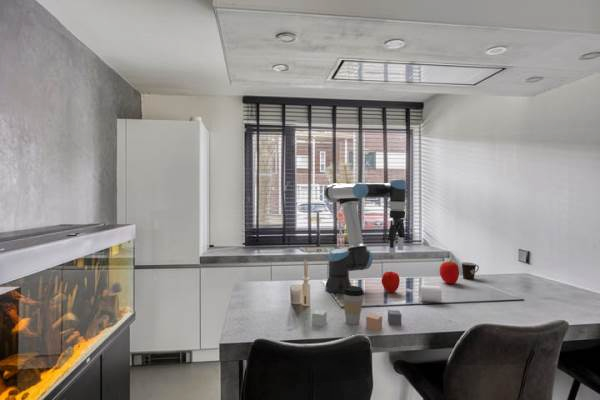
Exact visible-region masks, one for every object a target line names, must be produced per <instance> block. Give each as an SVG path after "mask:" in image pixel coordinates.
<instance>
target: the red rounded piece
mask: <svg viewBox="0 0 600 400" xmlns="http://www.w3.org/2000/svg"><path fill="white" fill-rule="evenodd" d="M400 280H401V279H400V276H399V274H398V273H397V272H394V271H385V272H384V273H383V275H382V277H381V285H382V286H383V288H384V290H385V291H386V292H387V293H390V294H393V293H396V291H398V289H399V286H400Z"/></svg>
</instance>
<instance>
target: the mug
mask: <svg viewBox="0 0 600 400" xmlns="http://www.w3.org/2000/svg"><path fill="white" fill-rule="evenodd" d="M418 292H419V293H418V294H419V301H420V302H429V303H441V302H442V300H443V291H442V288H441V286H434V285H433V286H432V285H419V291H418Z"/></svg>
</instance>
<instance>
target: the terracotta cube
mask: <svg viewBox="0 0 600 400" xmlns="http://www.w3.org/2000/svg"><path fill="white" fill-rule="evenodd" d="M365 321H366V322H365V329H368V330H372V331H375V332H378V331H379V330H380V329H382V328H383V315H380V314H376V313H369V314H368V315H367V316H365Z"/></svg>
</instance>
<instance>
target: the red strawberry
mask: <svg viewBox="0 0 600 400" xmlns="http://www.w3.org/2000/svg"><path fill="white" fill-rule="evenodd" d="M439 275H440V278H441V279H442V281H443V282H445V283H446V284H449V285H454V284H456V283H457V282H458V280H459V276H460V269H459V265H458V264H457V263H456V262H454V261H451V260H449V261H444V262H442V263H441V265H440V266H439Z"/></svg>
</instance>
